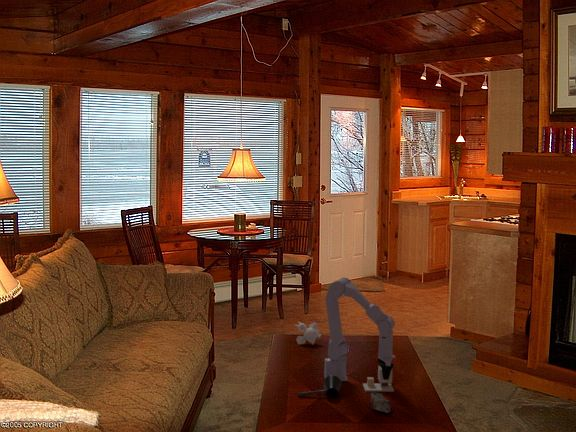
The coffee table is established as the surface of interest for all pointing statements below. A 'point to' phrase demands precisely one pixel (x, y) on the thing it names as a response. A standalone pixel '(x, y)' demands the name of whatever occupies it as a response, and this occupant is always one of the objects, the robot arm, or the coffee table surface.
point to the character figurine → (308, 333)
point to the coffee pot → (327, 388)
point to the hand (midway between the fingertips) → (384, 377)
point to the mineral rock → (380, 402)
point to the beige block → (380, 376)
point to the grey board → (376, 386)
